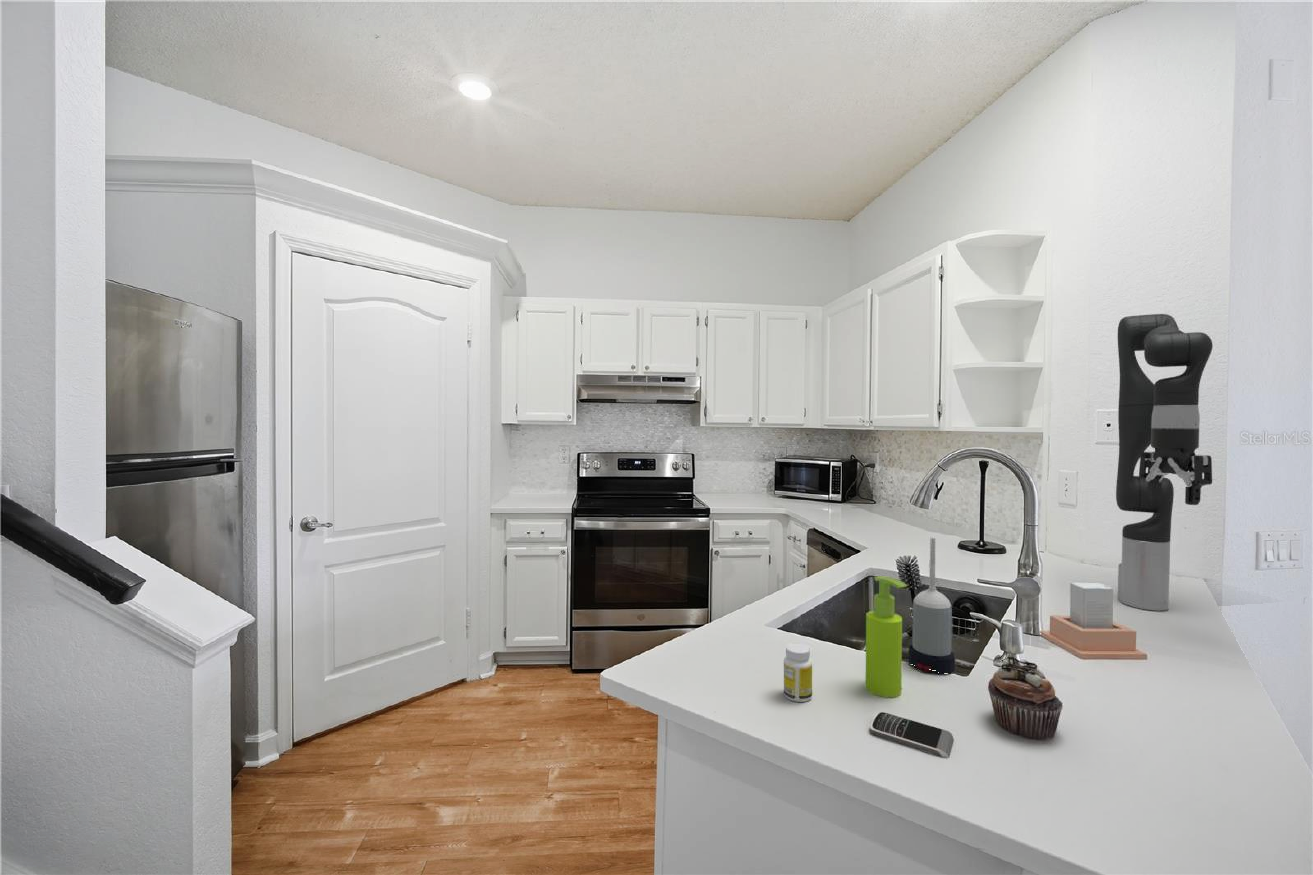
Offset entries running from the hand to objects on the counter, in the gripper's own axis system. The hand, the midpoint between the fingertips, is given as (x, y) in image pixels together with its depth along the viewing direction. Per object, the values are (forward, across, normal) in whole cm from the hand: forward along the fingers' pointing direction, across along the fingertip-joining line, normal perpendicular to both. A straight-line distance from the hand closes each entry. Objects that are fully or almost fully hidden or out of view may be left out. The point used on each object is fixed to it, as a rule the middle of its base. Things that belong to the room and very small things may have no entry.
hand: (1172, 501), depth 118 cm
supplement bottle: (+30, -25, +87) cm, 95 cm away
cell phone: (+31, -37, +73) cm, 87 cm away
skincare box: (+29, -4, +20) cm, 36 cm away
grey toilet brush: (+30, -13, +58) cm, 67 cm away
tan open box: (+30, -4, +20) cm, 36 cm away
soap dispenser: (+30, -23, +71) cm, 81 cm away
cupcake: (+30, -34, +54) cm, 71 cm away
